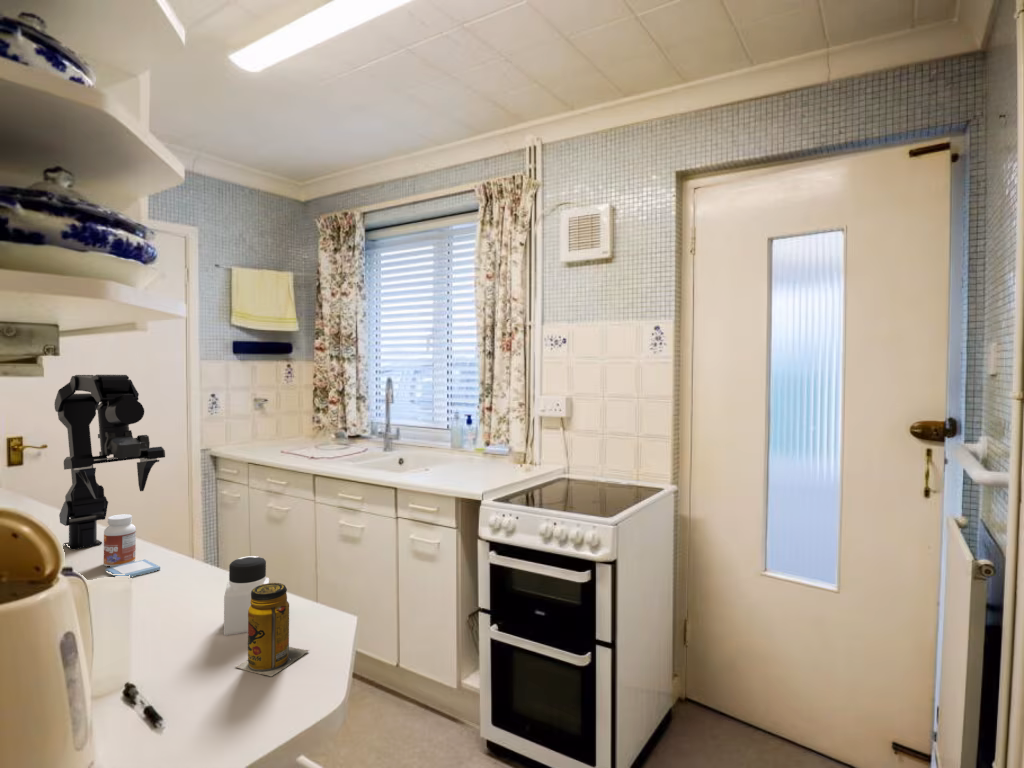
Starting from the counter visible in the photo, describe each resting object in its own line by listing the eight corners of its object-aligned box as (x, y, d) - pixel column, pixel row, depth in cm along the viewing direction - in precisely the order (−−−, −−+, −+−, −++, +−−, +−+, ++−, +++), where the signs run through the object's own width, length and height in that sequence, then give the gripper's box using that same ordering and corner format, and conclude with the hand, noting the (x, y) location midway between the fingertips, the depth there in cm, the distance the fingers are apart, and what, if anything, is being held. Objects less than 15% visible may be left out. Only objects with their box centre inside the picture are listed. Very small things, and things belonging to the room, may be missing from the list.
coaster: (105, 572, 126) (105, 568, 126) (145, 562, 133) (145, 558, 133) (120, 580, 122) (120, 576, 122) (160, 570, 128) (160, 566, 128)
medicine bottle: (268, 630, 100) (269, 563, 100) (223, 636, 98) (224, 568, 97) (268, 613, 107) (269, 551, 107) (226, 619, 104) (227, 555, 104)
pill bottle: (97, 565, 130) (97, 518, 130) (123, 557, 136) (123, 512, 136) (115, 569, 128) (115, 521, 128) (141, 561, 134) (141, 514, 134)
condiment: (234, 668, 88) (235, 592, 87) (275, 643, 96) (276, 574, 95) (271, 678, 85) (272, 599, 85) (309, 652, 93) (310, 580, 93)
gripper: (78, 428, 119) (84, 502, 118) (172, 421, 134) (178, 487, 133) (60, 432, 125) (65, 502, 124) (152, 425, 140) (157, 488, 140)
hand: (119, 494), depth 130 cm, fingers open, 9 cm apart
